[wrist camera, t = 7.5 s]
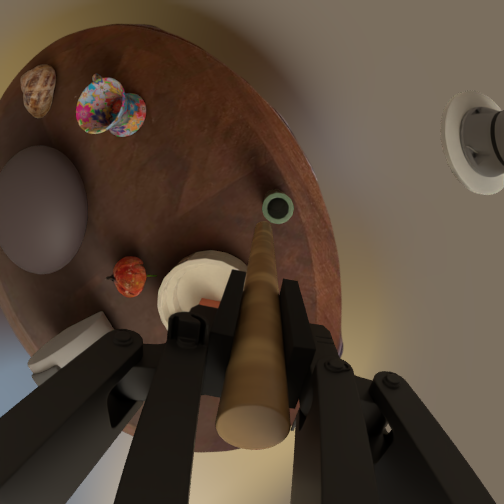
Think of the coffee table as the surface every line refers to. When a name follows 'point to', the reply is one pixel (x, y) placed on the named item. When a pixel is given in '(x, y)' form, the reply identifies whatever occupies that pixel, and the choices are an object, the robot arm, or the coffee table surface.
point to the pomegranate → (129, 276)
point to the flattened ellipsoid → (41, 209)
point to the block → (209, 303)
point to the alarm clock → (67, 346)
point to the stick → (256, 358)
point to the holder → (277, 206)
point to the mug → (109, 108)
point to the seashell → (38, 89)
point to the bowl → (196, 281)
